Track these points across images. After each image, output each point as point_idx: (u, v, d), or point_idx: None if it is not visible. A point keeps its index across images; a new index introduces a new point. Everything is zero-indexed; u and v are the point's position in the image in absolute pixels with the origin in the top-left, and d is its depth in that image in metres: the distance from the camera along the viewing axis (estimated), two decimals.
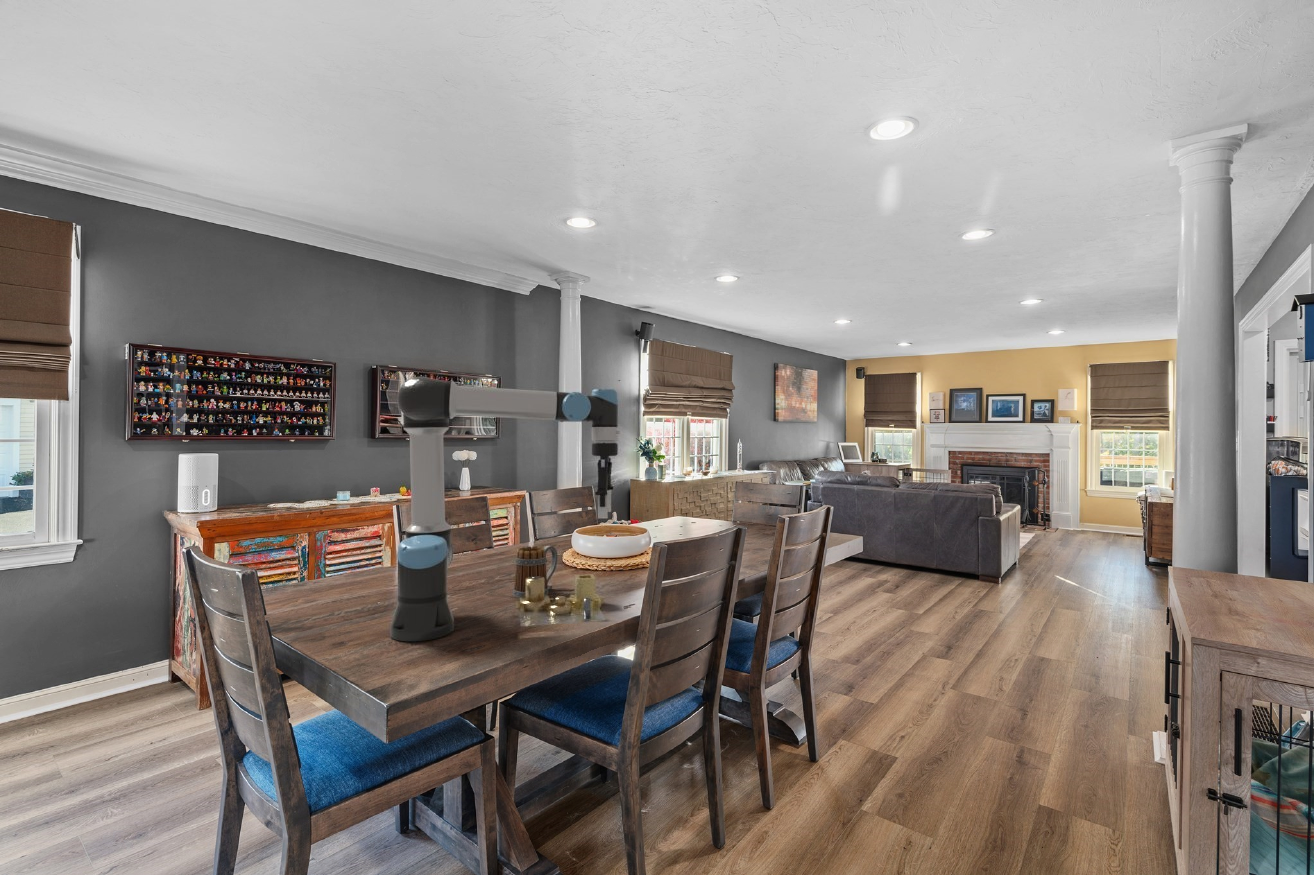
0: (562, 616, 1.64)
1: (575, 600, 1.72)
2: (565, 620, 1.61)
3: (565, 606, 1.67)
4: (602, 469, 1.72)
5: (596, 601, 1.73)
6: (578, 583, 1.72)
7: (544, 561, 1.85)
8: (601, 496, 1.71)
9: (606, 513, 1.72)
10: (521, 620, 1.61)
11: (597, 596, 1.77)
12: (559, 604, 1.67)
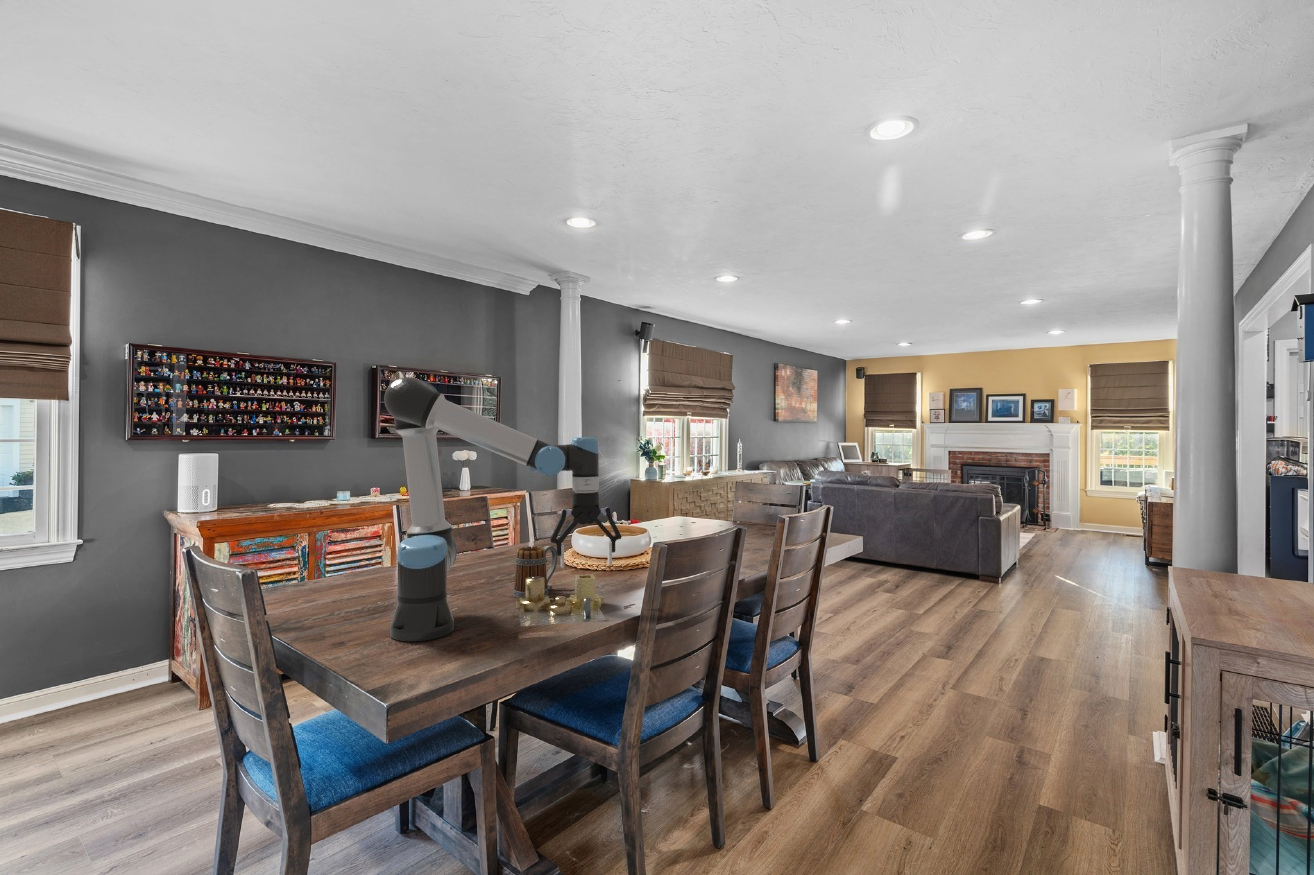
0: (562, 616, 1.64)
1: (575, 600, 1.72)
2: (565, 620, 1.61)
3: (565, 606, 1.67)
4: (560, 518, 1.73)
5: (596, 601, 1.73)
6: (578, 583, 1.72)
7: (544, 561, 1.85)
8: (556, 544, 1.73)
9: (561, 562, 1.72)
10: (521, 620, 1.61)
11: (597, 596, 1.77)
12: (559, 604, 1.67)
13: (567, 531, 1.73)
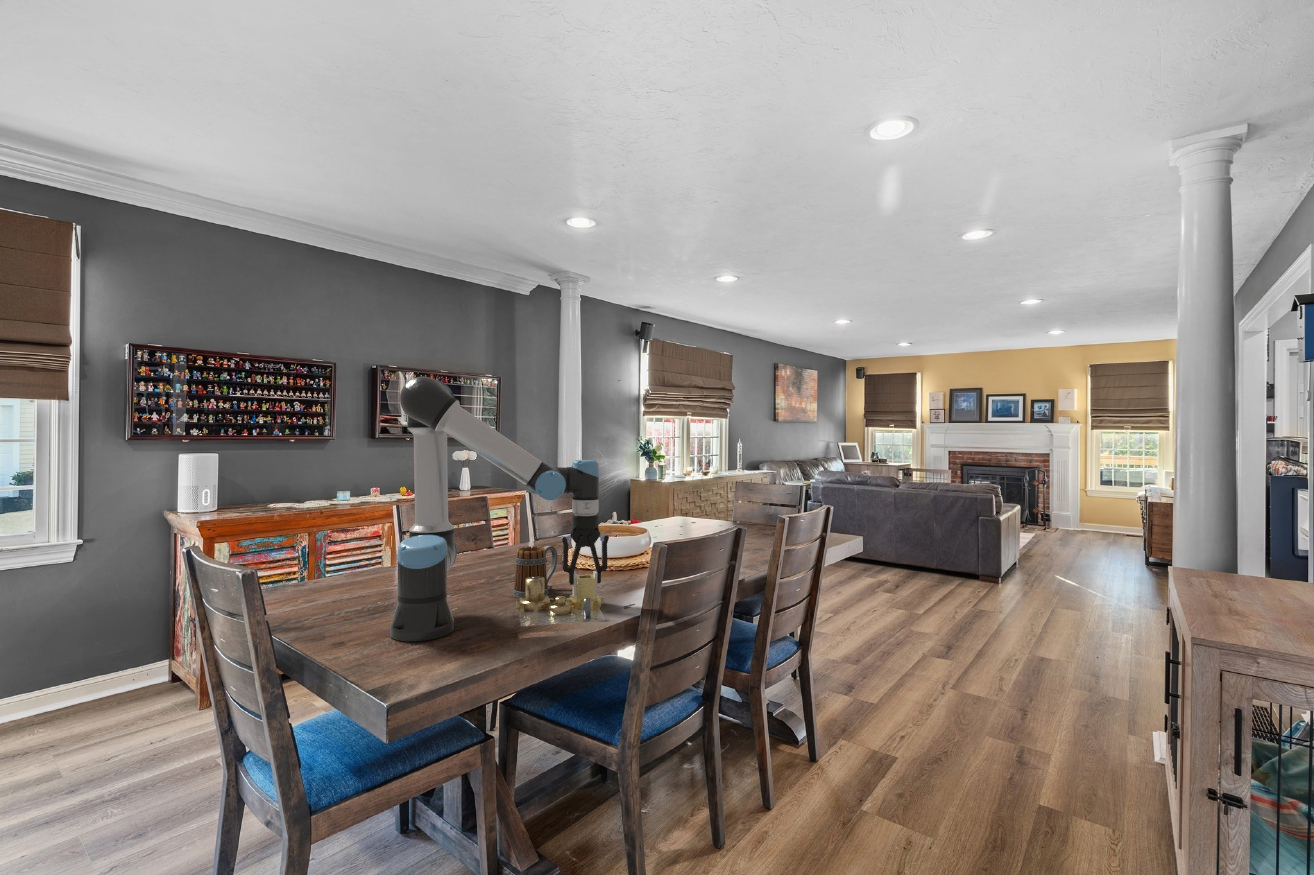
0: (562, 616, 1.64)
1: (575, 600, 1.72)
2: (565, 620, 1.61)
3: (565, 606, 1.67)
4: (563, 546, 1.74)
5: (596, 601, 1.73)
6: (578, 583, 1.72)
7: (544, 561, 1.85)
8: (569, 573, 1.74)
9: (573, 591, 1.74)
10: (521, 620, 1.61)
11: (597, 596, 1.77)
12: (559, 604, 1.67)
13: (574, 558, 1.73)
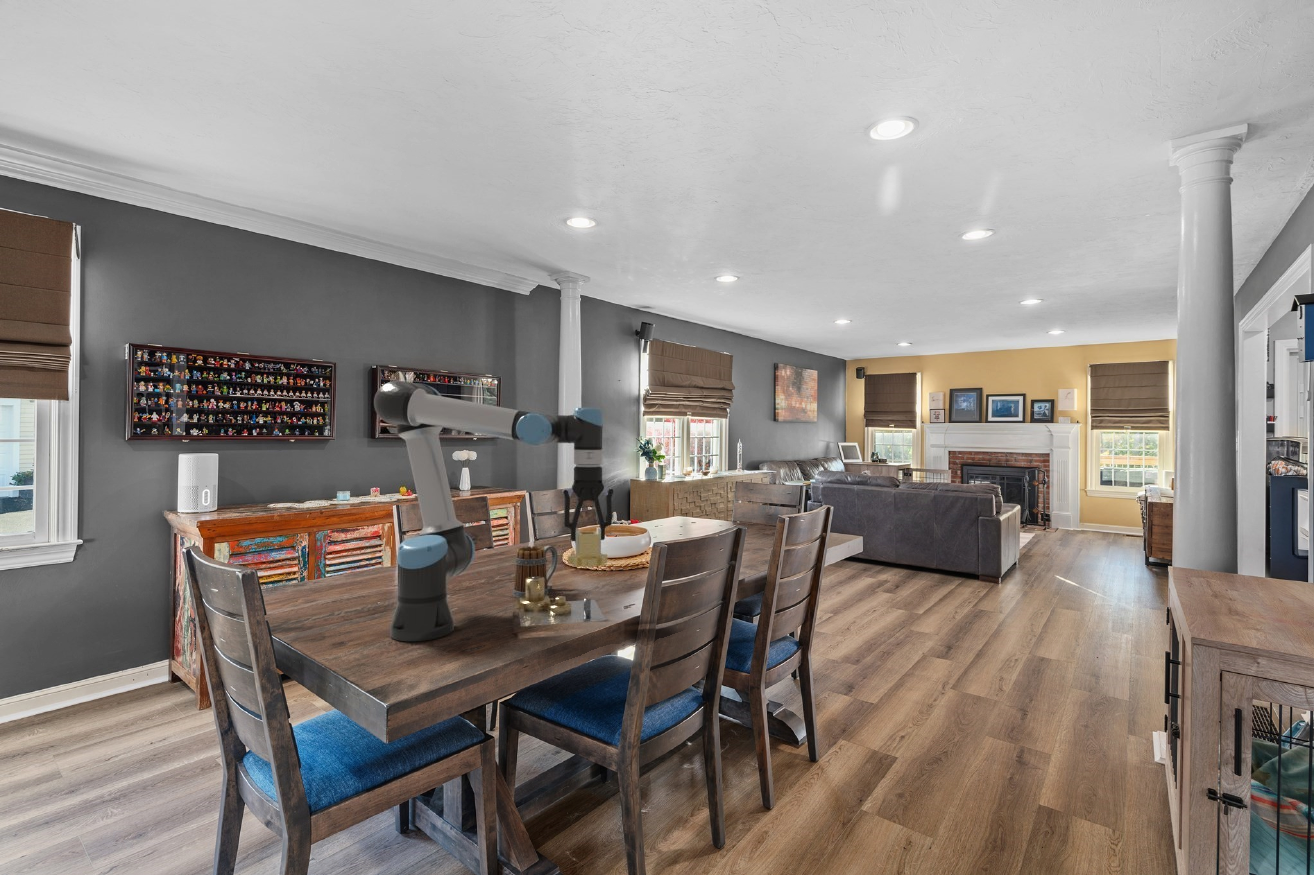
0: (562, 616, 1.64)
1: (577, 557, 1.61)
2: (565, 620, 1.61)
3: (565, 606, 1.67)
4: (564, 500, 1.62)
5: (600, 558, 1.61)
6: (580, 539, 1.60)
7: (544, 561, 1.85)
8: None
9: (575, 548, 1.62)
10: (521, 620, 1.61)
11: (601, 554, 1.65)
12: (559, 604, 1.67)
13: (576, 512, 1.61)
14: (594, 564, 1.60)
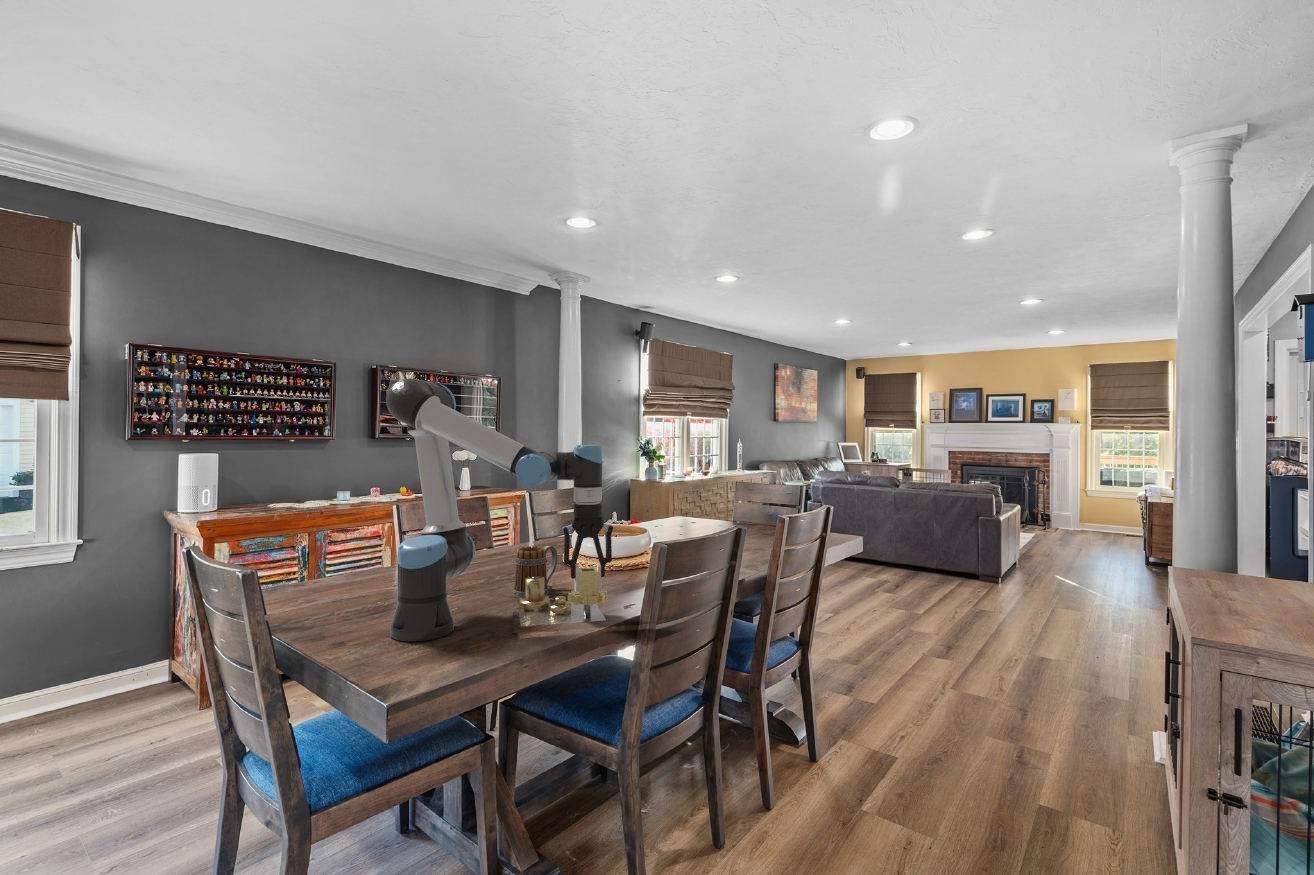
0: (562, 616, 1.64)
1: (577, 595, 1.61)
2: (565, 620, 1.61)
3: (565, 606, 1.67)
4: (564, 537, 1.62)
5: (600, 596, 1.61)
6: (580, 577, 1.60)
7: (544, 561, 1.85)
8: None
9: (575, 586, 1.62)
10: (521, 620, 1.61)
11: (601, 591, 1.65)
12: (559, 604, 1.67)
13: (576, 550, 1.61)
14: (594, 602, 1.60)
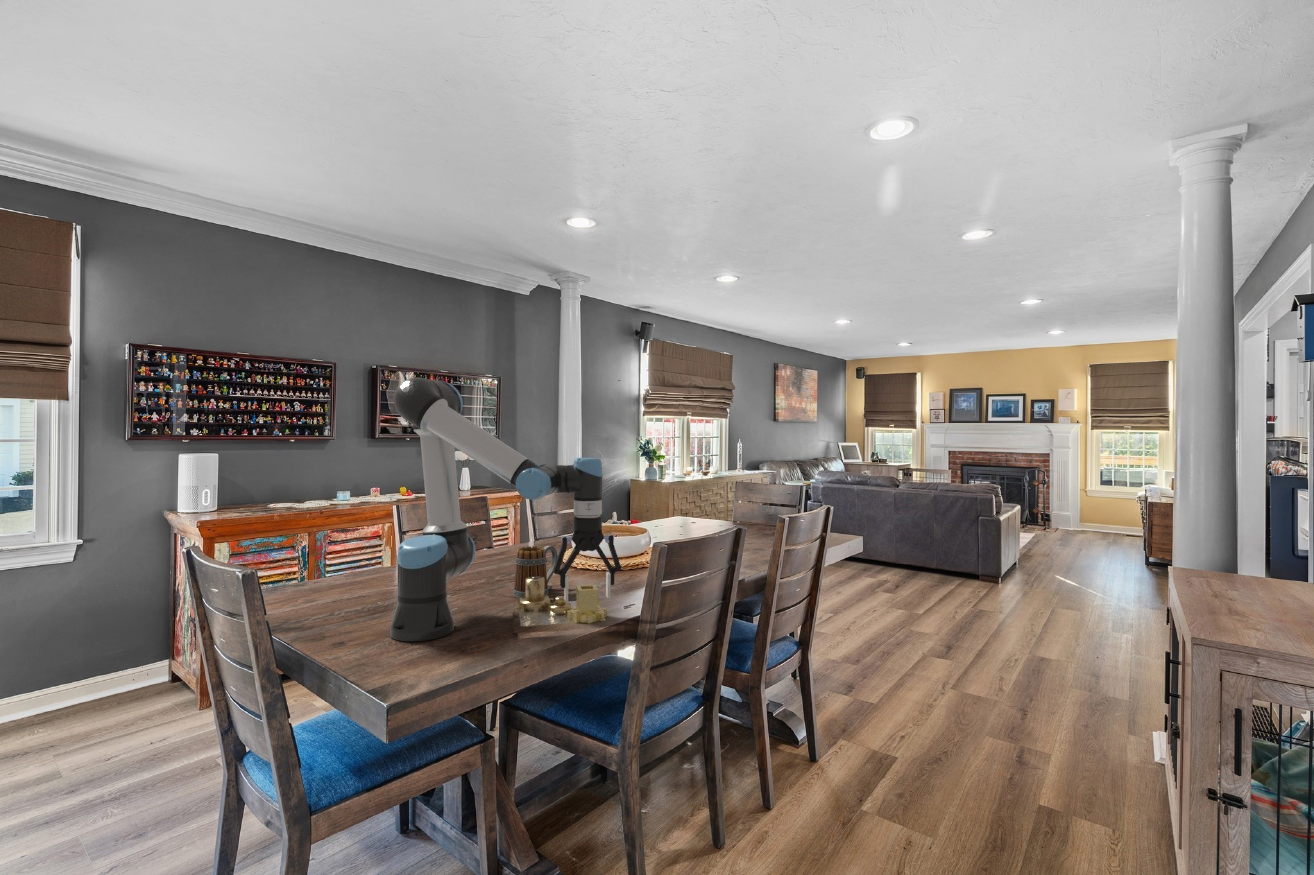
0: (562, 616, 1.64)
1: (576, 613, 1.61)
2: (565, 620, 1.61)
3: (565, 606, 1.67)
4: (561, 547, 1.62)
5: (599, 614, 1.61)
6: (580, 594, 1.60)
7: (544, 561, 1.85)
8: (560, 576, 1.62)
9: (565, 595, 1.61)
10: (521, 620, 1.61)
11: (600, 608, 1.65)
12: (559, 604, 1.67)
13: (570, 560, 1.61)
14: (593, 620, 1.60)
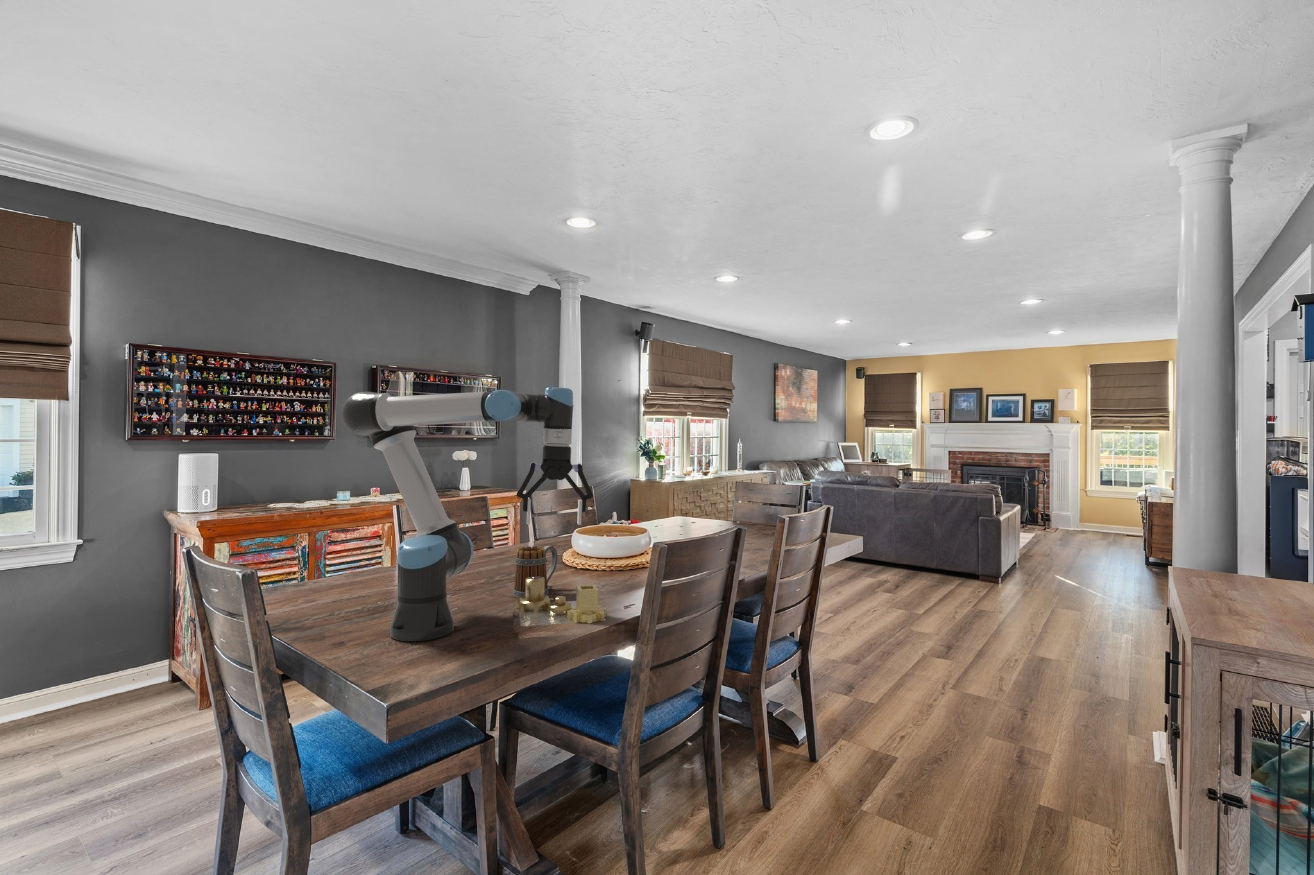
0: (562, 616, 1.64)
1: (576, 613, 1.61)
2: (565, 620, 1.61)
3: (565, 606, 1.67)
4: (528, 472, 1.63)
5: (599, 614, 1.61)
6: (580, 594, 1.60)
7: (544, 561, 1.85)
8: (523, 500, 1.63)
9: (527, 518, 1.62)
10: (521, 620, 1.61)
11: (600, 608, 1.65)
12: (559, 604, 1.67)
13: (535, 486, 1.62)
14: (593, 620, 1.60)
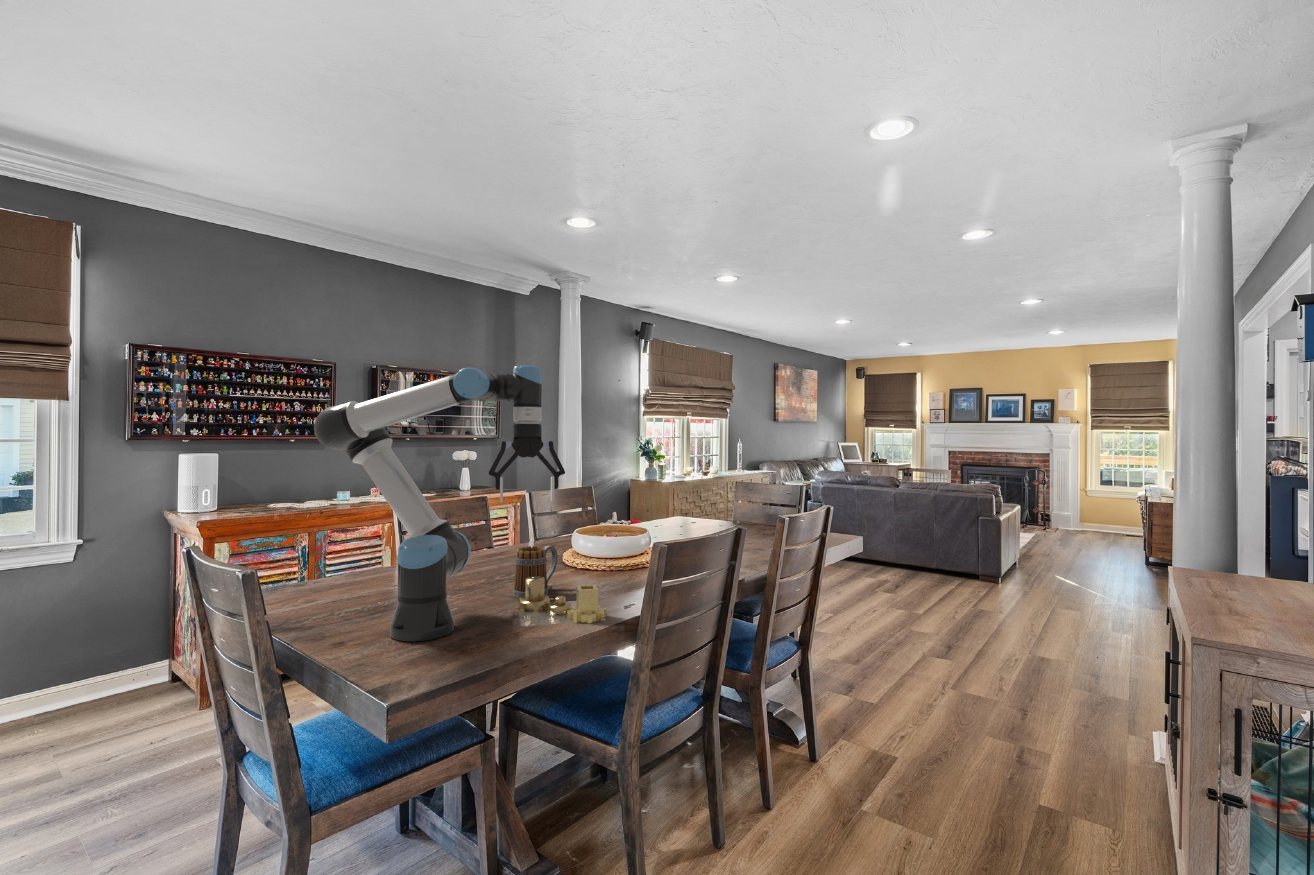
0: (562, 616, 1.64)
1: (576, 613, 1.61)
2: (565, 620, 1.61)
3: (565, 606, 1.67)
4: None
5: (599, 614, 1.61)
6: (580, 594, 1.60)
7: (544, 561, 1.85)
8: (495, 478, 1.65)
9: None
10: (521, 620, 1.61)
11: (600, 608, 1.65)
12: (559, 604, 1.67)
13: (506, 464, 1.64)
14: (593, 620, 1.60)
